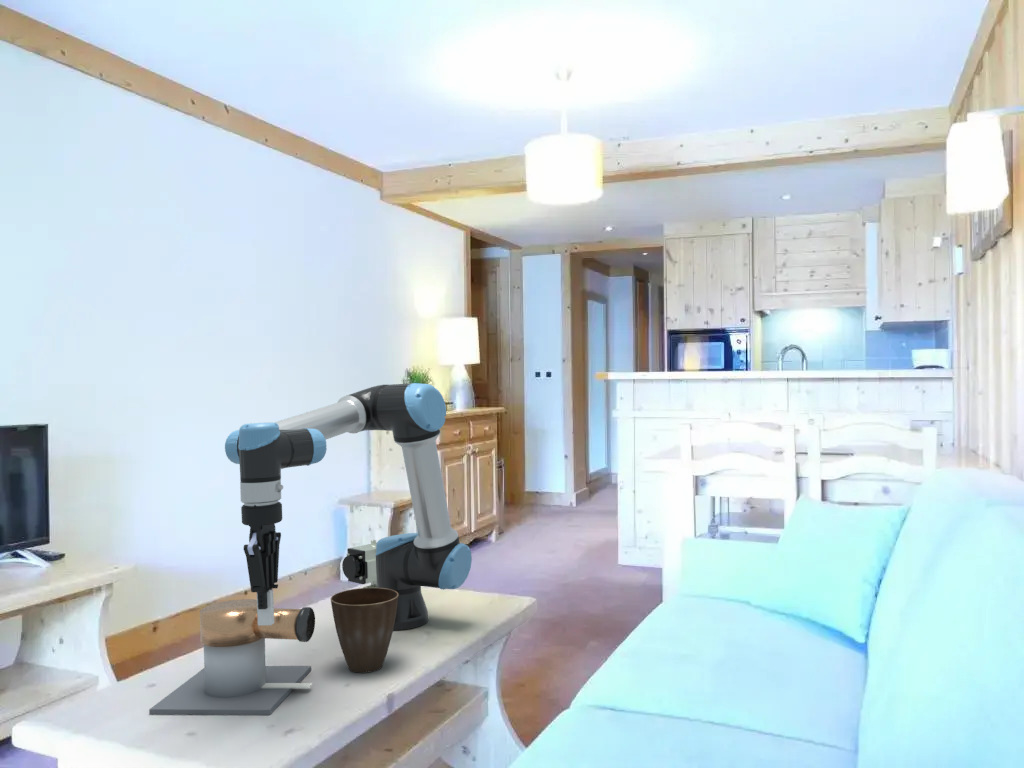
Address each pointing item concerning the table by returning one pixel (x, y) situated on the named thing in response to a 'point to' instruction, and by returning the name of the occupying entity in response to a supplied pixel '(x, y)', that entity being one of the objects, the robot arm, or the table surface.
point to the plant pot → (364, 625)
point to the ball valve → (361, 564)
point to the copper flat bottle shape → (252, 624)
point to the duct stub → (234, 684)
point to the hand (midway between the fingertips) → (266, 624)
